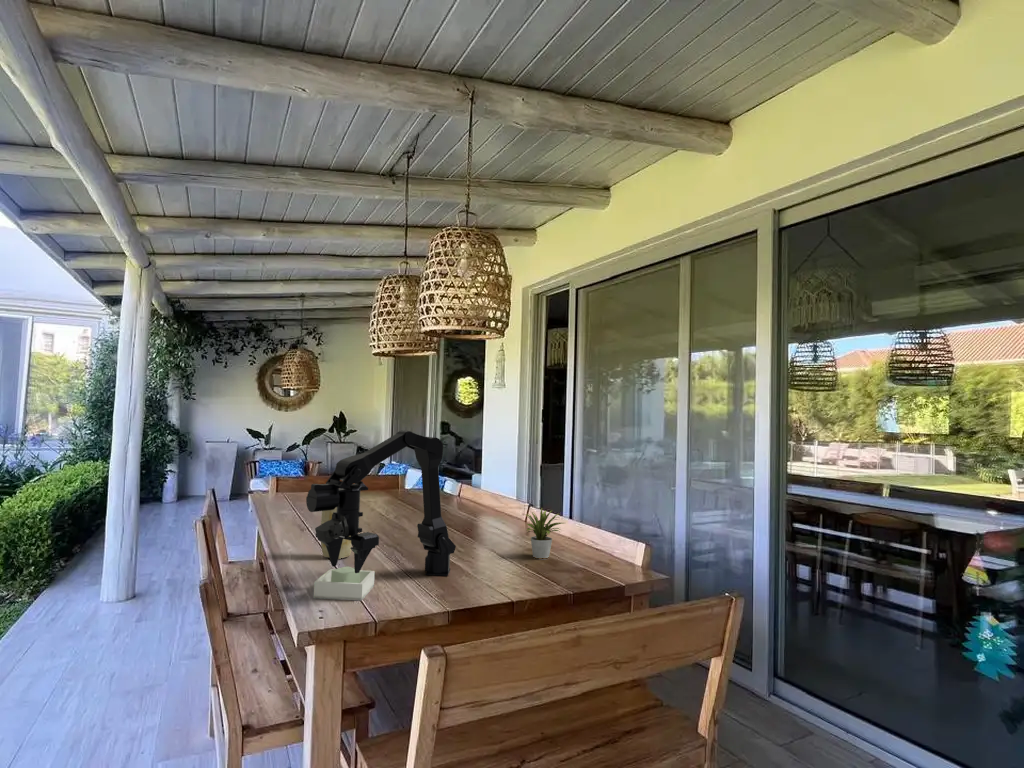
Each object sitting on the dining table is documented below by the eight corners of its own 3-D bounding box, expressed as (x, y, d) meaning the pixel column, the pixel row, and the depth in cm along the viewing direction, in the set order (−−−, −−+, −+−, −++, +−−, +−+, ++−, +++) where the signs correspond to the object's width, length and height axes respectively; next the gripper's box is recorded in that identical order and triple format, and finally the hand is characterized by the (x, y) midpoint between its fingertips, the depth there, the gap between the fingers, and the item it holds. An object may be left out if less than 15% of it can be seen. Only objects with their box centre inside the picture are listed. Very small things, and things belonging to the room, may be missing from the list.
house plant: (537, 566, 186) (538, 513, 186) (508, 556, 196) (510, 506, 197) (569, 560, 195) (571, 509, 195) (541, 551, 205) (542, 503, 206)
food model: (352, 555, 191) (355, 492, 192) (350, 560, 184) (353, 495, 185) (320, 555, 189) (323, 491, 190) (317, 560, 183) (320, 494, 184)
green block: (346, 585, 157) (347, 566, 157) (359, 589, 154) (360, 569, 154) (330, 589, 153) (331, 570, 153) (343, 593, 150) (344, 573, 150)
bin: (373, 586, 159) (374, 570, 160) (361, 600, 147) (362, 584, 148) (329, 584, 160) (330, 569, 160) (313, 598, 148) (314, 582, 148)
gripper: (299, 507, 153) (296, 568, 153) (346, 517, 142) (342, 583, 142) (335, 502, 162) (332, 560, 162) (381, 511, 151) (379, 574, 151)
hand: (345, 569), depth 154 cm, fingers open, 9 cm apart
